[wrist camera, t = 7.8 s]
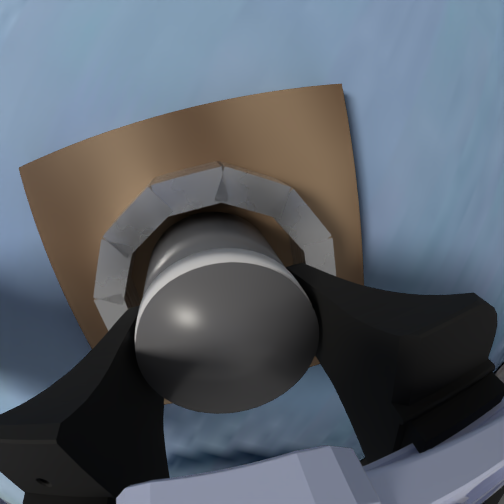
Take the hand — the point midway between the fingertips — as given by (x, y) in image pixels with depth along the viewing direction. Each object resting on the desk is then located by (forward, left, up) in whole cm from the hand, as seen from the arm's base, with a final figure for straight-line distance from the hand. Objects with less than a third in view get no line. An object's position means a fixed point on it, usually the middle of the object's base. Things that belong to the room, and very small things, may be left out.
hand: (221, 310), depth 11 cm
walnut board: (0, 0, -4) cm, 4 cm away
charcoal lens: (0, +1, -2) cm, 2 cm away
